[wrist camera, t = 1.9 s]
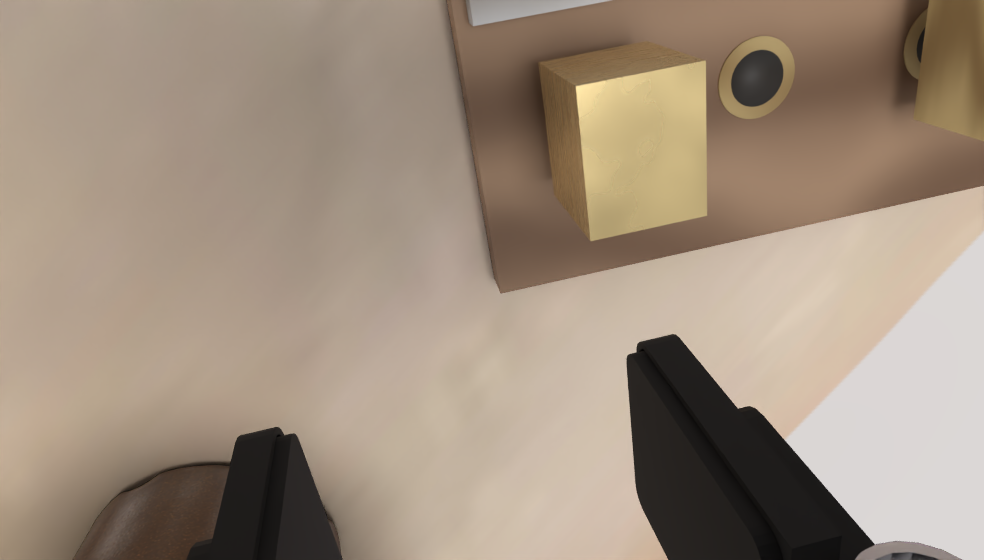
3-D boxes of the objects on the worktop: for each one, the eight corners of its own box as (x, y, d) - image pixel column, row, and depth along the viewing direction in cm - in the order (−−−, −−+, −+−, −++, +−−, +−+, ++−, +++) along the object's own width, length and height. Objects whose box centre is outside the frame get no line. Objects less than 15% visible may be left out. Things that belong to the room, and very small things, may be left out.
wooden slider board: (435, -67, 24) (465, -72, 18) (1020, -169, 26) (1248, -208, 20) (494, 278, 31) (533, 371, 24) (961, 175, 33) (1117, 234, 26)
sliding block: (530, 57, 25) (575, 85, 20) (635, 36, 25) (706, 60, 20) (546, 185, 27) (590, 241, 22) (641, 165, 28) (706, 215, 23)
